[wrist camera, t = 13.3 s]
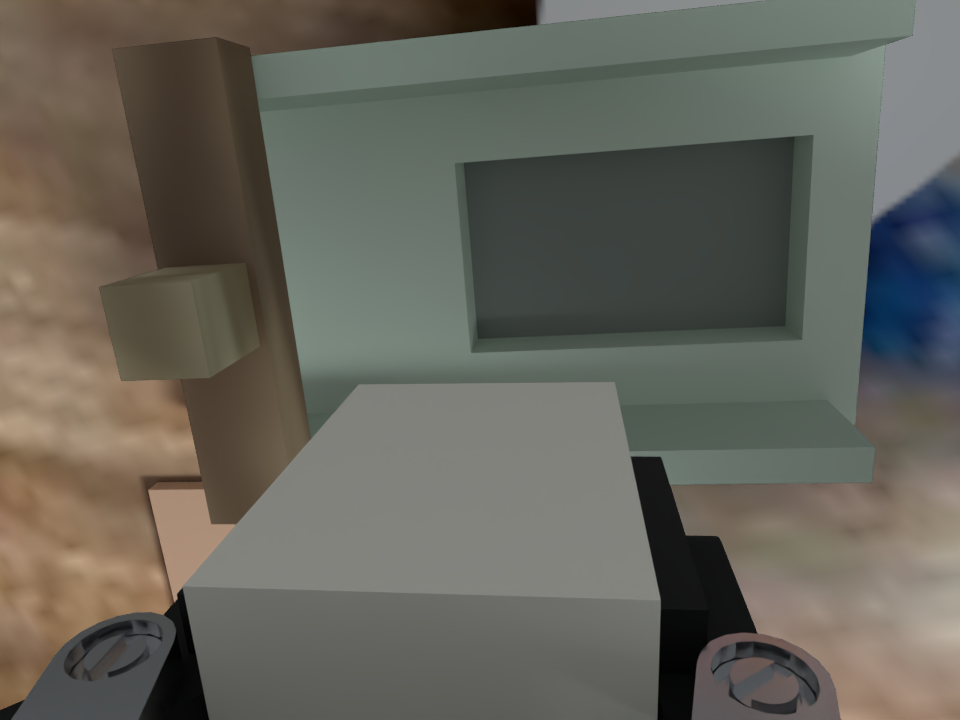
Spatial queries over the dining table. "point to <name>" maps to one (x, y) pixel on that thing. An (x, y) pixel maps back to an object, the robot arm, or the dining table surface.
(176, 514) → the terracotta coaster
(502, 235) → the puzzle board
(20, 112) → the dining table surface
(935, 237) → the dining table surface
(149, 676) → the robot arm
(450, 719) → the cream block
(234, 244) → the latch bar
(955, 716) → the dining table surface
